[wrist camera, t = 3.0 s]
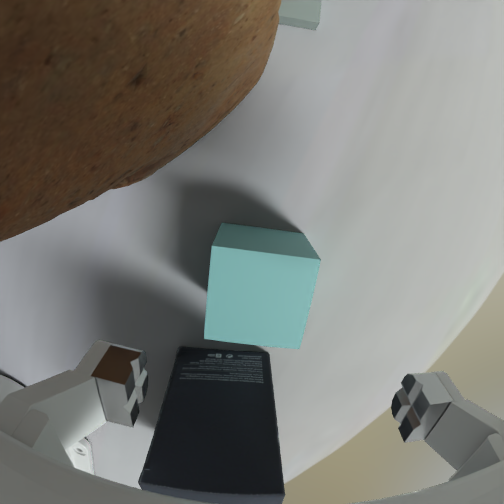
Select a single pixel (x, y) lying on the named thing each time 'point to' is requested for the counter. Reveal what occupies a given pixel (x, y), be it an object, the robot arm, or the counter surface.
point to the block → (114, 92)
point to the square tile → (300, 13)
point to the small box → (217, 431)
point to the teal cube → (260, 286)
